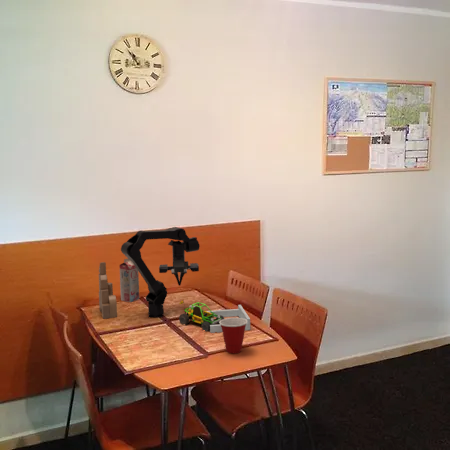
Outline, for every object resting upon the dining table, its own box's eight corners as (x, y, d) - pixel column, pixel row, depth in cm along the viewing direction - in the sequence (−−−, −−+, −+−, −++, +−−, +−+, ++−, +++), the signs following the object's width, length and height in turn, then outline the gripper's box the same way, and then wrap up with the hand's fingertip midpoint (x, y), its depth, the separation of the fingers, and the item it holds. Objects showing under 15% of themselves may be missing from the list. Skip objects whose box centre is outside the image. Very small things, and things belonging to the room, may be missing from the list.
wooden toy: (118, 317, 223) (115, 264, 219) (103, 319, 220) (100, 266, 216) (112, 307, 237) (110, 257, 233) (99, 308, 234) (96, 258, 231)
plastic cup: (239, 342, 192) (239, 314, 190) (252, 352, 183) (252, 322, 181) (214, 347, 187) (214, 318, 185) (227, 358, 178) (227, 327, 176)
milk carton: (139, 298, 250) (137, 257, 246) (130, 302, 244) (128, 260, 241) (129, 296, 253) (128, 256, 250) (120, 300, 248) (119, 258, 244)
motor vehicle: (209, 332, 204) (208, 309, 202) (175, 323, 215) (174, 300, 214) (225, 325, 213) (225, 302, 211) (192, 316, 224) (191, 294, 223)
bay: (210, 332, 203) (210, 321, 202) (204, 317, 221) (204, 307, 221) (250, 330, 206) (250, 318, 205) (240, 315, 224) (240, 304, 224)
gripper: (158, 258, 219) (159, 291, 222) (199, 256, 221) (200, 289, 224) (158, 253, 230) (160, 284, 233) (197, 251, 232) (198, 282, 235)
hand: (179, 285), depth 231 cm, fingers closed
